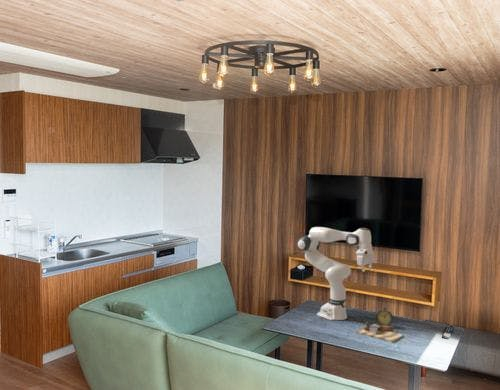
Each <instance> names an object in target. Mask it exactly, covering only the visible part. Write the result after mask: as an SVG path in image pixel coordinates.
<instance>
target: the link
mask: <svg viewBox="0 0 500 390" xmlns="http://www.w3.org/2000/svg"><path fill="white" fill-rule="evenodd" d="M371 325H372V324H370V321H366V322H365V324H364V325H363V328H364V330H368V331H369V326H371ZM377 331H390V332H394V326H393V325H390V326H389V325H388V326H383V325H381V327H380V328H378V329H377Z"/></svg>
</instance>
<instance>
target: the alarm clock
mask: <svg viewBox="0 0 500 390" xmlns="http://www.w3.org/2000/svg"><path fill="white" fill-rule="evenodd" d="M385 305H386V307H385V306H382V309H380V310H379V311H378V312H377V313H376V316H375V317H376V321H377V323H378V325H381V326H391V323H393V320H394V315H393V313H392V312H391V311H390V310H388V309H387V308H388V304H387V303H385ZM383 308H384V309H383Z"/></svg>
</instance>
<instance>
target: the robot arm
mask: <svg viewBox="0 0 500 390" xmlns="http://www.w3.org/2000/svg"><path fill="white" fill-rule="evenodd" d="M308 233H309V234H308V235H307V234H306V235H303V236H302V237H300V238H299V239H298V240H297V242H296V246H297V249H298V250H300V251H302V252H305V253H304V259H305V260H306V261H307V262H308V264H310V265H312V267H315V268H316V269H317V270H319V271H321V272H324V273H325V274H324V276H325V278H326V280H327V282H328V284H329V287H330V289H329V293H330V294H329V295H330V297H328V298H327V302H326V303H325V304H323V305H321V307H320V311H318V312H317V313H316V315H317V316H318V317H322V318H324V319H327V320H329V321H343V320H346V319H348V315H347V309H346V308H347V307H346V306H347V298H346V294H347V293H346V287H345V286H344V283H343V280H344V279H347V278H348V277H349V276H350V275H351V274H352V269H351V267H350V265H349V264H346V263H342V262H339V261H336V260H333V259H331V258H329V257H327V256H326V255H324V254H322V253H321V252H319V249H320V245H321V243H333V242H337V241H346V244H347V245H348V246H349V247H357V246H358V249H357V250H356V252H355V255H356V263H357V266H360V268H361V271H362V272H363V273H364V272H366V268H365V266H366V265H368V270H372V269H373V268H372V267H373V263H375V262H376V257H375V256H376V255H375V252H374V250H373V245H372V233H371V230H370V228H366V227H359V228H358V229H356V230H355V231H353V232H351V231H342V230H338V229H333V228H329V227H325V226H324V227H323V226H314V227H311V228H310V230H309V231H308Z"/></svg>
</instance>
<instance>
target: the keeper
mask: <svg viewBox="0 0 500 390" xmlns="http://www.w3.org/2000/svg"><path fill="white" fill-rule="evenodd" d="M370 325H371V326H369V333H373V334H377V329H378V328H380V327H381V326H382V325H381V324H380V325H379V324H377V323H373V324H370Z"/></svg>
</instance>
